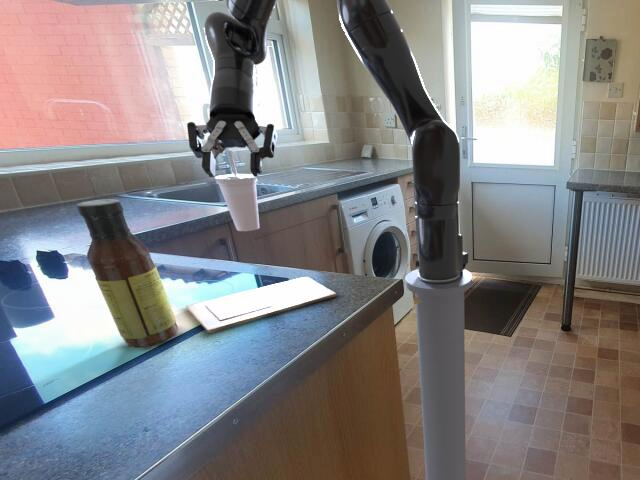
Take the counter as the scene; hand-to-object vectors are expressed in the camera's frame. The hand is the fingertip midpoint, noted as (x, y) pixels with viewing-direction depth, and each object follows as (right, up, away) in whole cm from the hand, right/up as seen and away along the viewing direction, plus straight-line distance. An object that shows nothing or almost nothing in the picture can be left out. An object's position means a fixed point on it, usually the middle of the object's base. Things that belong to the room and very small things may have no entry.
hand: (232, 173), depth 72 cm
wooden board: (+6, -23, 0) cm, 23 cm away
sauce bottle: (-3, -28, -12) cm, 30 cm away
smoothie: (-1, -9, +6) cm, 11 cm away
